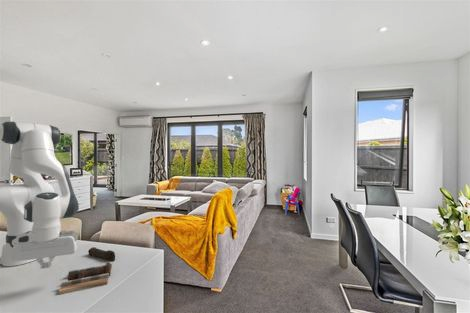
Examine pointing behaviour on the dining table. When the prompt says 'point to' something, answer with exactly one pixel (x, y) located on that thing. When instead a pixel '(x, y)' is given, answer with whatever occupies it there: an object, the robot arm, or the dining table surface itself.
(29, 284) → the dining table surface
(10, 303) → the dining table surface
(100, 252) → the carved wooden phallus
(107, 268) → the bolt
